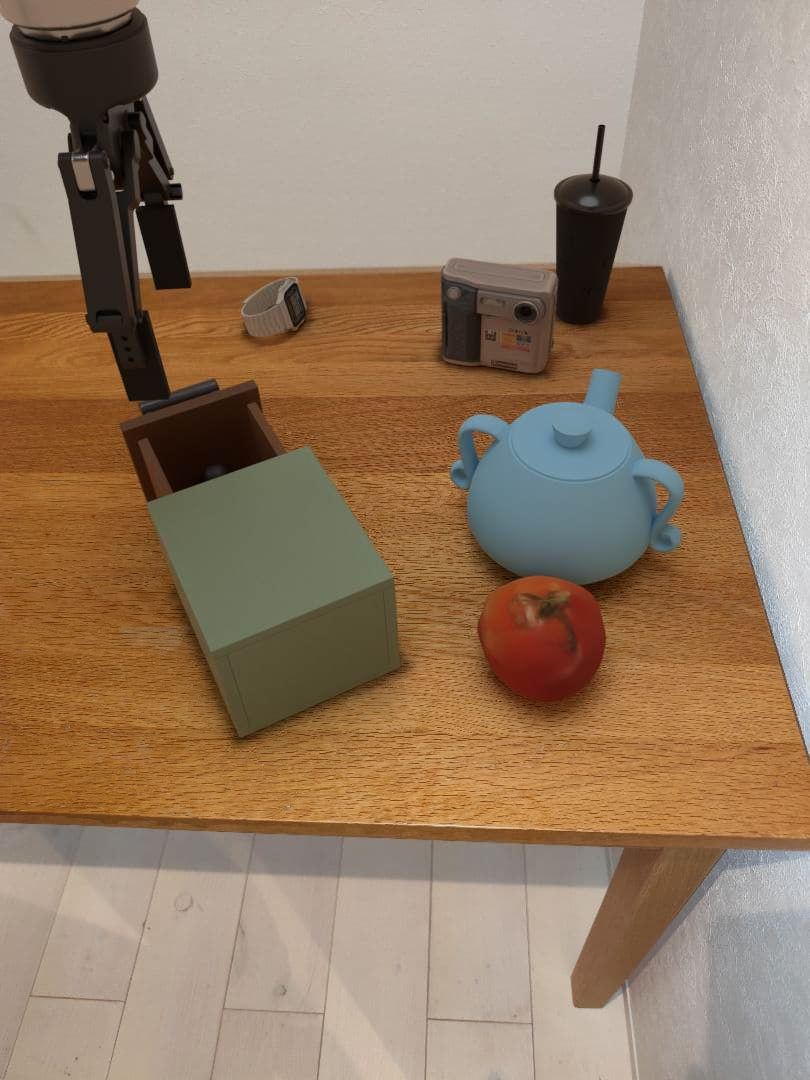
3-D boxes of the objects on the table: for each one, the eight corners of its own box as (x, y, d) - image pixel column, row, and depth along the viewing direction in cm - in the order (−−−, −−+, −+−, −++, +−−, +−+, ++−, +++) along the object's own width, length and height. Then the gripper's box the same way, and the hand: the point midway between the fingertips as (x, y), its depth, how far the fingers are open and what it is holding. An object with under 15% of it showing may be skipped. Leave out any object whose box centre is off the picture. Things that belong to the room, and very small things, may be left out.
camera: (434, 363, 92) (433, 276, 84) (451, 331, 95) (451, 246, 88) (542, 383, 89) (551, 296, 82) (555, 350, 93) (565, 264, 85)
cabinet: (178, 595, 73) (145, 502, 64) (322, 539, 76) (308, 444, 68) (240, 738, 64) (210, 652, 56) (400, 667, 67) (394, 576, 59)
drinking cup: (529, 318, 97) (545, 132, 82) (563, 284, 101) (583, 102, 86) (593, 340, 94) (621, 151, 79) (625, 305, 98) (657, 119, 83)
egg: (192, 518, 75) (179, 476, 72) (219, 487, 78) (207, 444, 74) (233, 532, 74) (222, 490, 70) (259, 500, 76) (249, 457, 73)
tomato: (482, 609, 71) (485, 542, 65) (600, 622, 69) (614, 555, 63) (469, 711, 64) (471, 647, 58) (598, 726, 63) (614, 663, 57)
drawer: (130, 465, 82) (103, 388, 75) (249, 425, 85) (233, 347, 78) (193, 608, 70) (167, 532, 64) (327, 555, 74) (316, 477, 67)
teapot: (413, 560, 74) (408, 447, 65) (501, 416, 86) (508, 303, 77) (647, 640, 68) (680, 528, 59) (707, 473, 80) (742, 358, 70)
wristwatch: (285, 350, 94) (278, 309, 90) (231, 340, 96) (222, 300, 92) (317, 302, 100) (313, 262, 96) (266, 294, 101) (259, 254, 98)
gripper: (105, 105, 41) (196, 450, 57) (171, -55, 58) (228, 246, 73) (-60, 113, 41) (78, 456, 57) (54, -49, 57) (136, 250, 73)
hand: (162, 338), depth 65 cm, fingers open, 13 cm apart
